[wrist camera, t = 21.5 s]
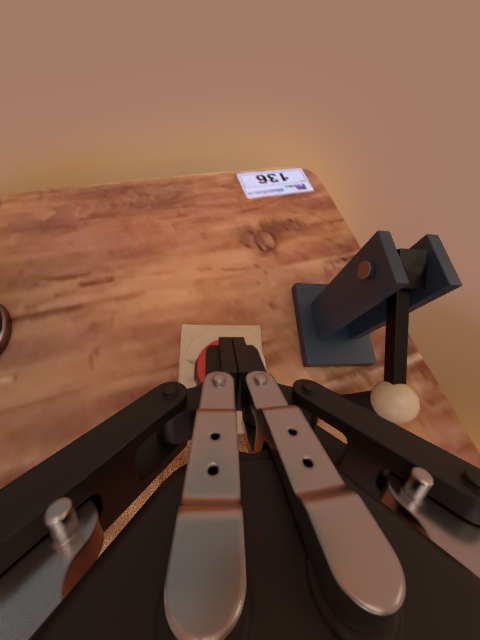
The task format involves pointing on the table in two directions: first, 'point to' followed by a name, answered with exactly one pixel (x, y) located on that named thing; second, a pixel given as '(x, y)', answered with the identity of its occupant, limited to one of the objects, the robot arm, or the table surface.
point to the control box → (202, 335)
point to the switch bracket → (364, 300)
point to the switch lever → (399, 346)
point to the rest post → (361, 399)
